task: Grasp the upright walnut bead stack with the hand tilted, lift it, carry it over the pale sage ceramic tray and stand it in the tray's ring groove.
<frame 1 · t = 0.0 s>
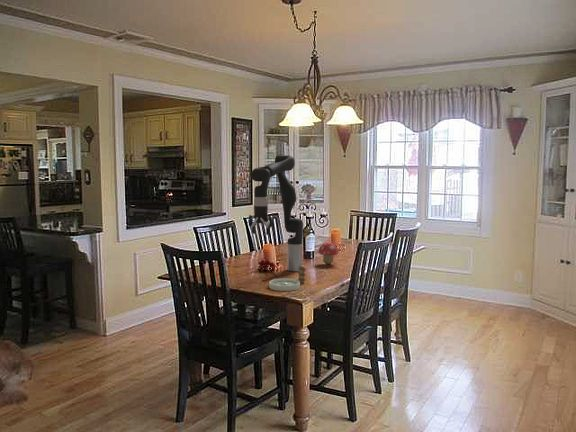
hand: (260, 234, 280), 29 cm above the table, tool pointing down, fingers open, 8 cm apart
bead stack: (301, 283, 290), on the table
decorative mushroom: (328, 264, 342), on the table
decorative berry sprig: (269, 276, 308), on the table
tray: (284, 286, 282), on the table
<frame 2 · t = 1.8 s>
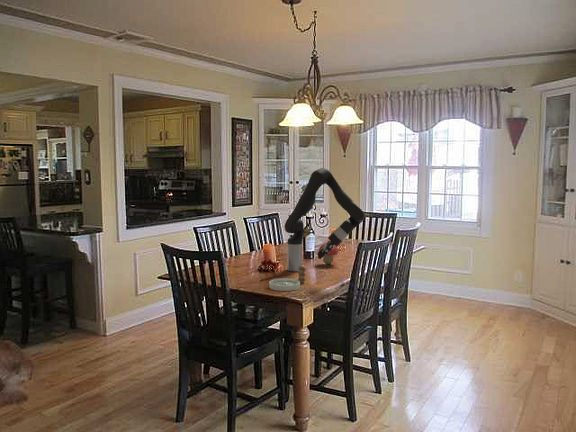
hand: (318, 256, 289), 15 cm above the table, tool tilted 45°, fingers open, 8 cm apart
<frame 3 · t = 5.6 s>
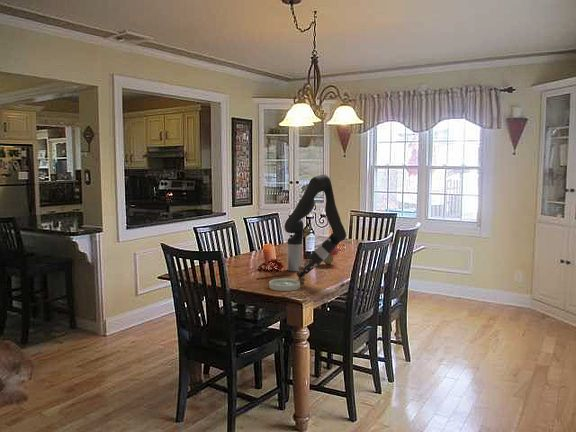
hand: (298, 276, 290), 4 cm above the table, tool tilted 45°, fingers closed on bead stack, 3 cm apart
bead stack: (301, 283, 290), on the table, touching gripper
decorative berry sprig: (271, 275, 311), on the table
everything else where it was.
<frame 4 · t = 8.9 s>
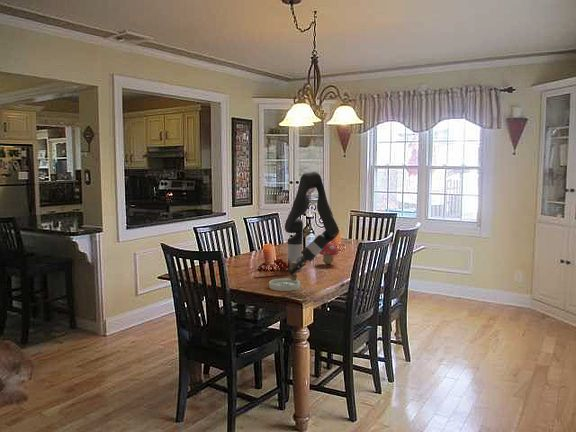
hand: (290, 272, 281), 8 cm above the table, tool tilted 45°, fingers closed on bead stack, 3 cm apart
bead stack: (293, 279, 282), point 4 cm above the table, touching gripper
decorative berry sprig: (272, 275, 312), on the table
everything else where it was.
when the fingers open (7 cm above the table, at t = 9.5 s): bead stack drops 1 cm, resting on tray.
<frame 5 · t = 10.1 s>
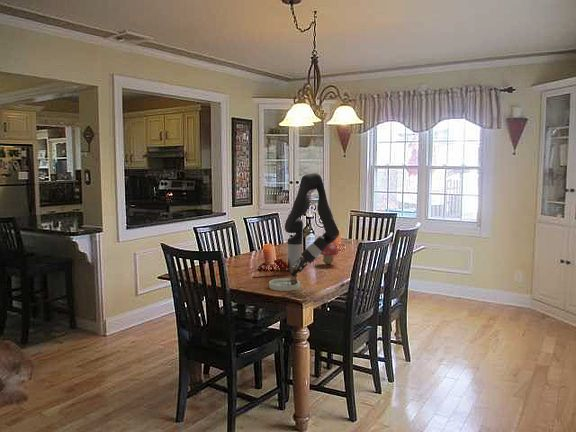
hand: (291, 273, 282), 7 cm above the table, tool tilted 45°, fingers open, 8 cm apart
bead stack: (293, 284, 283), point 1 cm above the table, touching tray
everything else where it was.
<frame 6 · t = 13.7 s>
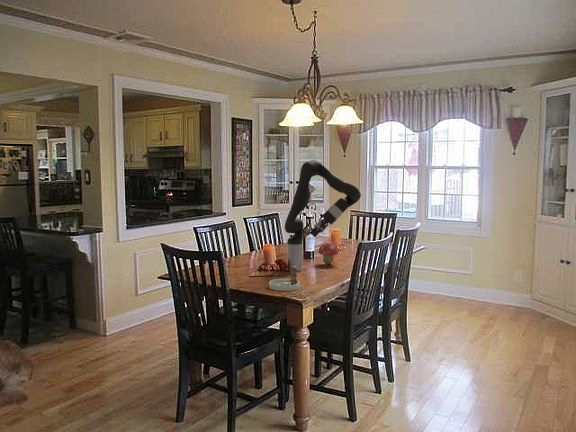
hand: (312, 234, 283), 29 cm above the table, tool tilted 45°, fingers open, 8 cm apart
decorative berry sprig: (269, 274, 313), on the table
everything else where it was.
at the end: bead stack 0.1 cm from the target spot on the tray, point 1.2 cm above the tray's base; bead stack tilted 1°; the gripper is holding nothing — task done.
